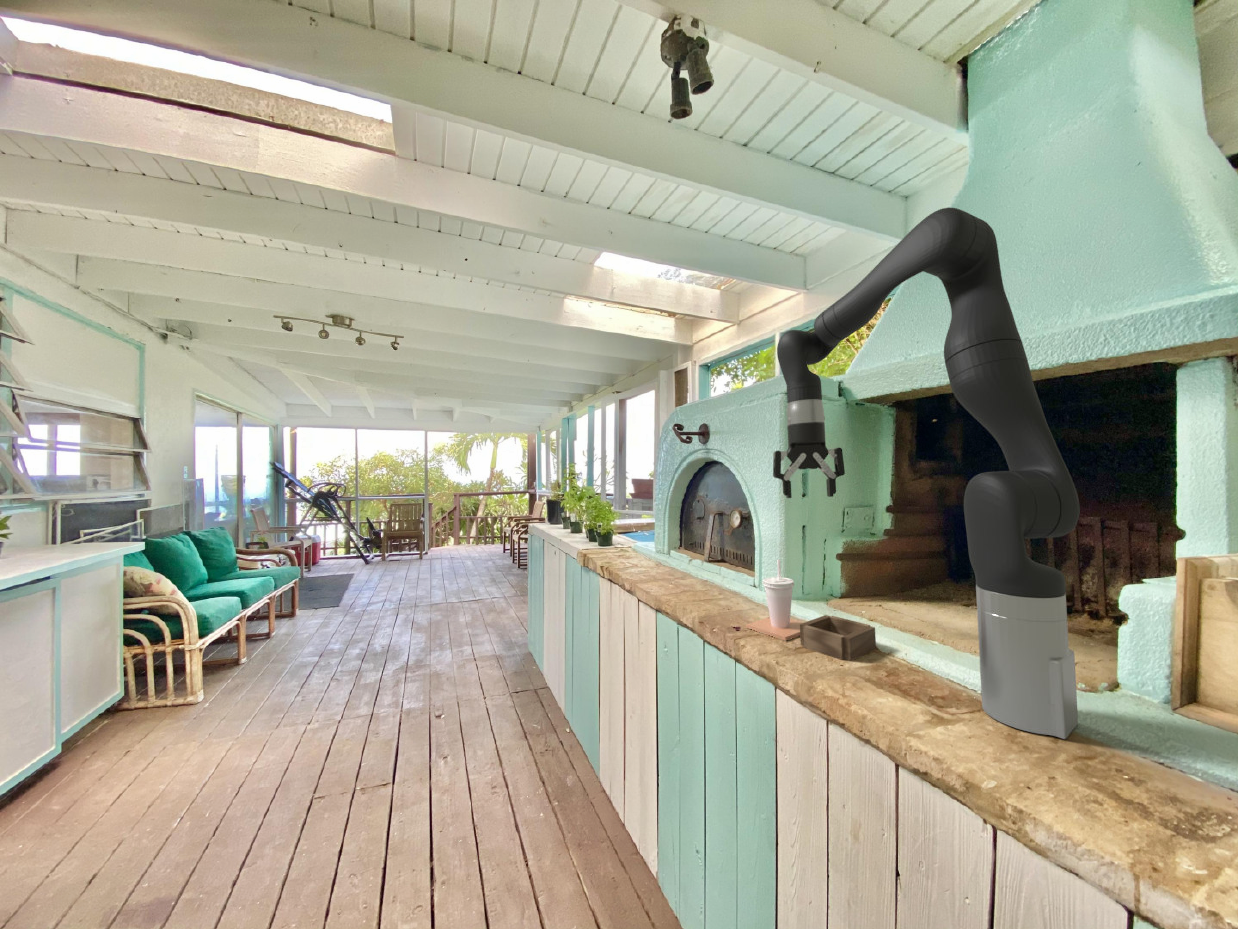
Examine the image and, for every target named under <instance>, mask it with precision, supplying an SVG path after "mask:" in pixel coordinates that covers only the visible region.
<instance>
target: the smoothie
mask: <svg viewBox="0 0 1238 929" xmlns="http://www.w3.org/2000/svg"><path fill="white" fill-rule="evenodd" d="M776 561H777V564H776V565H777V576H772V577H766V578H763V580H762V586H764V589H765V591H764V592H765V595H766V596H765V597H766V602H767V607H768V614H769V617H770V620H771V625H772V626H773V627H776V628H788V627H789V624H790V619H791V611H792V610H791V609H792V598H793V588H794V587H795V581H794V579H792V578H790V577H789V578H788V577H782V576H781V560H780V559H777V560H776Z"/></svg>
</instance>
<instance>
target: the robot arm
mask: <svg viewBox="0 0 1238 929" xmlns="http://www.w3.org/2000/svg"><path fill="white" fill-rule="evenodd" d="M894 246H895V247H893V248H892V249H891V250H890V251H889V252H888V253H887V254H886V255H885V256H884V257H883V258H882V260H880V261H879V262H878V264H877V265H875V266H874V267H873V269H871V270H870V271H869V273H868V274H867V275H866V276H865V277H864V278H863V279H861V281H859V282H858V283H857V284H856V285H855V286H854V287H853V288H852V289H851V290H849V291H848V292H847V293H846V294H845V295H843V296H842V297H840V298H839V299H838V300H836V301H835V302H834V303H833V304H831V305H830V306H829V307H827V308H826V309H825V310H823V311H822V312H821V313H820V314H819V315H817V317H816V318H815V320H814V321H813V329H814V330H813V331H807V330H799V329H791V330H787V331H786V332H784V333H783V334H782V335H781V336H780V339H779V340H778V343H777V348H776V354H777V355H776V356H777V359H778V360H777V361H778V364H779V366H780V370H781V373H782V376H783V378H784V381H785V385H786V400H787V403H786V404H787V405H786V406H787V407H786V408H787V409H786V424H787V426H786V428H787V443H788V444H787V447H788V448H787V450H786V451H785V450H784V451H783V450H775V451H774V452H772V453H773V457H772V458H773V460H772V461H773V462H772V463H773V464H772V467H773V468H772V476H773V478H775V479H778V480H781V482H782V494H783V496H785V497H786V499H792V498H793V497H792V481H791V480H790V479H791V477H792V476H793V475H794V474H795V473H796V471H797V470H817V469H818V470H820V472H822V473H823V475H825V477H826V478H827V479H826V481H825V482H826V496H827V497H831V498H834V495H835V494H836V493H837V486H836V485H837V482H836V480H837V478H839V477H842V476H844V475H845V474H846V470H845V462H844V455H843V454H844V453H843V449H842V448H841V447H834V448H829V449H828V447H827V444H826V443H827V442H826V427H825V423H826V422H825V420H826V417H825V410H824V405H823V392H822V380H821V378H820V376H819V375H818V374H816V373H814V372H812V371H811V370H810V369H809V366H811V365H815V364H817V363H820V362H822V361H823V360H824V359H826V358H827V357H828V356H829V355H830V354H832V351H833V350H834V349H836V347H837V346H838V345H839V343H840V342H841V341H843V340H845V339H846V338H849V337H850V336H852V335H853V334H854V333H855V332H858V331H859V330H860V329H861V328H863V327H864V326H866V325H868V323H869V322H870V321H871V320H872V319H873V318H874V317H875V316H876V315H877V313H878V312H879V311H880V309H881V307H882V306H883V304H884V303H885V301H886V299H887V298H888V296H889V295H890V294H891V293H892V292H893V291H894V290H895V289H896V288H897V287H899V286H900V285H901V284H903V283H904V282H906V281H907V280H909V279H911V278H913V277H915V276H917V275H919V274H921V273H926V274H929V275H932V276H934V277H937V278H938V279H939V280H940V281H941V283H942V285H943V287H944V289H945V292H946V294H947V298H948V302H949V306H950V310H951V319H950V323H949V326H948V330H947V334H946V337H945V341H944V345H943V358H944V365H945V368H946V373H947V376H948V380H949V384H950V385H949V386H950V388H951V391H952V392H953V395H954V397H955V399H956V400H957V401H958V402H959V404H960V405H961V406H962V407H963V408H964V409H965V410H966V411H967V412H968V413H969V414H970V415H971V416H972V417H973V418H974V419H975V420H977V422H979V424H981V425H982V426H983V428H985V430H987V431H988V433H989V434H991V436H992V437H993V438H994V439H995V441H996V442H997V444H998V446H999V447H1000V448H1001V452H1002V453H1003V456H1004V458H1005V460H1006V464H1007V466H1008V470H1001V471H1000V470H999V471H986V472H982V473H978V474H976V475H974V476H973V477H972V478H971V479H970V480H969V481H968V484H967V486H966V487H965V491H964V497H963V512H964V523H965V530H966V537H967V538H966V540H967V548H968V549H967V550H968V556H969V561H970V564H971V567H972V570H973V572H974V576H975V591H976V592H975V595H976V596H975V597H976V613H977V632H978V634H977V635H978V636H977V637H978V650H979V651H978V652H979V654H978V655H979V656H978V657H979V672H980V673H979V674H980V696H981V704H982V706H981V707H982V709H983V711H984V712H985V713H986V714H987V715H988V716H990V718H992V719H994V720H996V721H998V722H1000V723H1002V724H1005V725H1007V726H1009V727H1012V728H1015V729H1017V730H1021V731H1025V732H1029V733H1032V734H1039V735H1046V736H1047V735H1049V736H1053V737H1057V738H1060V739H1062V740H1066V739H1067V738H1068V736H1070V735H1071V733H1072V731H1074V729H1075V728H1076V726H1077V725H1078V724H1079V715H1078V712H1079V711H1078V698H1077V697H1078V696H1077V679H1076V678H1077V677H1076V661H1075V660H1076V658H1075V657H1076V656H1075V651H1074V650H1073V649H1071V648H1070V647H1069V646H1070V645H1069V631H1068V611H1067V594H1066V593H1067V590H1066V578H1065V576H1064V573H1063V572H1061V571H1060V570H1059V569H1057V568H1055V567H1052V566H1049V565H1047V564H1046V565H1045V564H1041V563H1039V562H1037V561H1035V560H1033V559H1031V558H1030V557H1029V556H1028V553H1027V549H1026V544H1025V539H1026V540H1027V539H1029V540H1030V539H1032V540H1033V539H1049V538H1050V539H1051V538H1059V537H1064V536H1066V535H1068V534H1069V533H1072V531H1074V529H1075V528H1076V527H1077V524H1078V521H1079V519H1080V509H1081V508H1080V502H1079V495H1078V492H1077V489H1076V486H1075V483H1074V481H1073V478H1072V476H1071V474H1070V472H1069V469H1068V467H1067V465H1066V463H1065V461H1064V459H1063V458H1064V457H1062V454H1061V451H1060V450H1059V447H1058V446H1057V443H1056V441H1055V439H1054V436H1053V434H1052V431H1051V429H1050V427H1049V425H1048V422H1047V420H1046V417H1045V413H1044V410H1043V408H1042V404H1041V402H1040V399H1039V396H1038V393H1037V390H1036V387H1035V384H1034V381H1033V380H1034V379H1033V376H1032V372H1031V368H1030V364H1029V359H1028V356H1027V353H1026V350H1025V347H1024V344H1023V341H1022V337H1021V336H1020V333H1019V329H1018V328H1017V324H1016V321H1015V318H1014V315H1013V312H1012V309H1011V306H1010V303H1009V299H1008V297H1007V293H1006V291H1005V287H1004V283H1003V277H1002V271H1001V262H1000V256H999V254H1000V253H999V247H998V241H997V237H996V234H995V231H994V229H993V228H992V227H991V226H990V224H989V223H988V222H987V221H985V220H983V219H981V218H979V217H977V216H975V215H972V214H971V213H968V212H967V211H965V210H962V209H959V208H957V207H944V208H940V209H938V210H936V211H933V212H932V213H930V214H929V215H927V216H926V217H924V218H923V219H922V220H921V221H920V222H919V223H917V224H916V226H914V227H913V228H912V229H911V230H910V231H909V232H908V233H907V234H906V235H905V236H904V237H903V238H902V239H901V240H900V241H899V242H898V243H897V244H896V245H894ZM828 455H829V456H830V458H831V459H833V465H834V471H833V470H832V469H831V467H830V465H829V464H828V463H826V461H825V460H826V458H827V457H828ZM785 458H788V459H789V461H790V464H789V465H788V467H787V469H786V470H785V472H784V473H782V461H784V460H785Z"/></svg>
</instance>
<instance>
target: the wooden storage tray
mask: <svg viewBox="0 0 1238 929" xmlns="http://www.w3.org/2000/svg"><path fill="white" fill-rule="evenodd" d="M799 637H800V638H799V639H800V646H802V647H804V649H808V650H810V651H814V652H817V653H820V654H823V655H825V656H826V655H827V656H829V657H832V658H836V659H839V660H841V661H843V660H846V661H849V662H852V661H854V660H856V659H858V658H860V657H862V656H865V655H867V654H869V653H871V652H873V651H875V650H876V649H877V643H876V642H877V641H876V640H877V639H876V627H875V626H871V625H870V624H868V623H863V622H859V621H855V620H851V619H848V618H843V617H839V616H835V615H827V614H825V615H822V616H820V617H816V618H814V619H811V620H810V619H809V620H808V621H805V622H802V624H800V636H799Z"/></svg>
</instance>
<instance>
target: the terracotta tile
mask: <svg viewBox="0 0 1238 929" xmlns="http://www.w3.org/2000/svg"><path fill="white" fill-rule="evenodd" d="M802 623H803V622H802V621H797V620H795V619H791V618H790V624H789V627H788V628H776V627H773V626H772V625H771V620H770V616H769V617H765V618H762V619H759V620H755V621H753V622H750V623H746V624H745V627H747V628H749V629H748V630H750V629H752V630H751V631H753V630H755V631H754V632H756V631H757V632H756V633H759V632H763V633H765V634H767V635H766V636H768V635H770V636H769V637H771V636H773V637H772V638H774V637H775V638H774V639H777V638H780V639H782V640H781V641H783V640H785V641H784V642H787V641H786V640H788V641H789V639H790V640H792V639H791V638H793V639H795V638H797V637H800V624H802ZM747 628H746V629H747ZM765 634H764V635H765ZM780 639H779V640H780Z"/></svg>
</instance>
